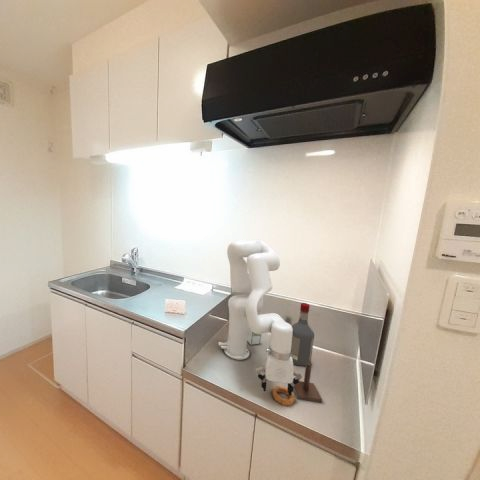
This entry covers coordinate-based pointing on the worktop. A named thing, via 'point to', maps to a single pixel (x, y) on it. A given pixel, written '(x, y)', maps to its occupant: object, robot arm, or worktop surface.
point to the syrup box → (253, 337)
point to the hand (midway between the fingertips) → (276, 391)
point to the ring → (280, 399)
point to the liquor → (302, 338)
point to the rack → (307, 387)
